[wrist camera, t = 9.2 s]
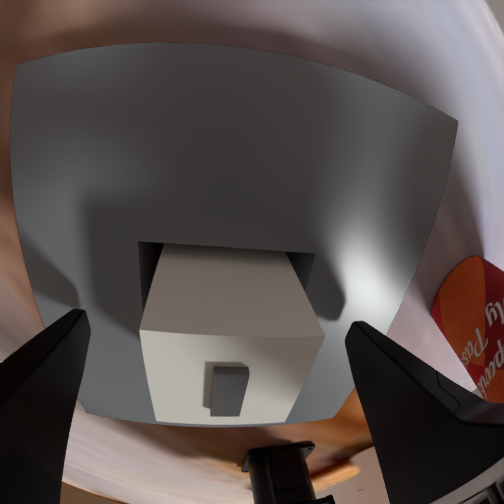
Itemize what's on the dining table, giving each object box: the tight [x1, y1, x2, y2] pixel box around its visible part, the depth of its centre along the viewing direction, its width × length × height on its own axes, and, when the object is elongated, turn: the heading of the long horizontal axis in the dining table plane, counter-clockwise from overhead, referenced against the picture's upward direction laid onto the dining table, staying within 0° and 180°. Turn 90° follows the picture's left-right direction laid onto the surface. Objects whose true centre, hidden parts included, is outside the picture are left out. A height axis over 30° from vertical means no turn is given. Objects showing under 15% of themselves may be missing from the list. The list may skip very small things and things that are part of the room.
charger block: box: [139, 243, 325, 425], centre depth 9 cm, size 4×4×6 cm
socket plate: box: [10, 42, 458, 427], centre depth 10 cm, size 16×14×3 cm
